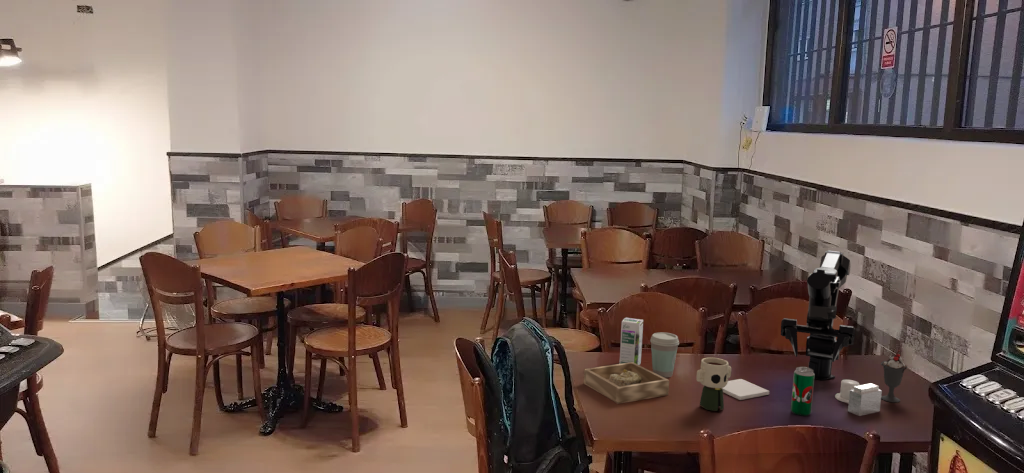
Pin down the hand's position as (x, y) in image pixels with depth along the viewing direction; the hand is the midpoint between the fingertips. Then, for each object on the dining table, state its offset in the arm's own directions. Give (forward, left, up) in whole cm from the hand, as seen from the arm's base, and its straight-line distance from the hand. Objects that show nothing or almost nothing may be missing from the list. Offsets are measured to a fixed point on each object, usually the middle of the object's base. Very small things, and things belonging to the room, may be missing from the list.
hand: (814, 358), depth 203 cm
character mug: (+26, -10, -14) cm, 31 cm away
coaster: (+9, -17, -14) cm, 23 cm away
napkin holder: (-11, +8, -14) cm, 19 cm away
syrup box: (+25, -48, -14) cm, 56 cm away
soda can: (+6, +2, -14) cm, 15 cm away
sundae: (-26, +5, -14) cm, 30 cm away
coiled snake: (+39, -31, -13) cm, 52 cm away
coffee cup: (+21, -37, -14) cm, 45 cm away
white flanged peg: (-15, 0, -14) cm, 20 cm away
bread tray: (+39, -31, -14) cm, 51 cm away
